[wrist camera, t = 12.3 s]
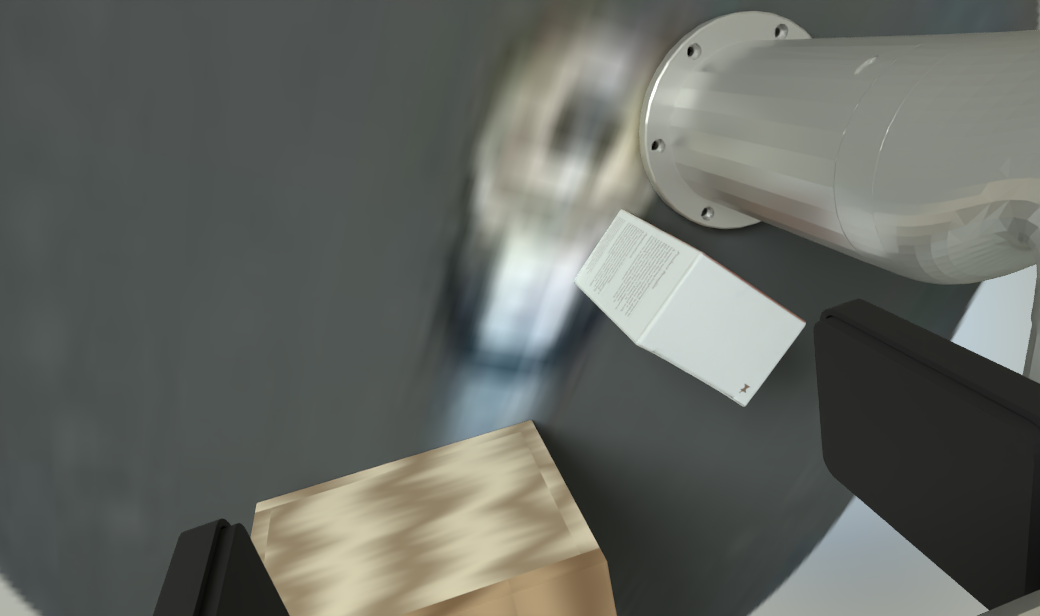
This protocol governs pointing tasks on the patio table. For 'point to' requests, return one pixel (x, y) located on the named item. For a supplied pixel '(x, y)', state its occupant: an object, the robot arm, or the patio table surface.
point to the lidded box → (438, 537)
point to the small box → (687, 307)
